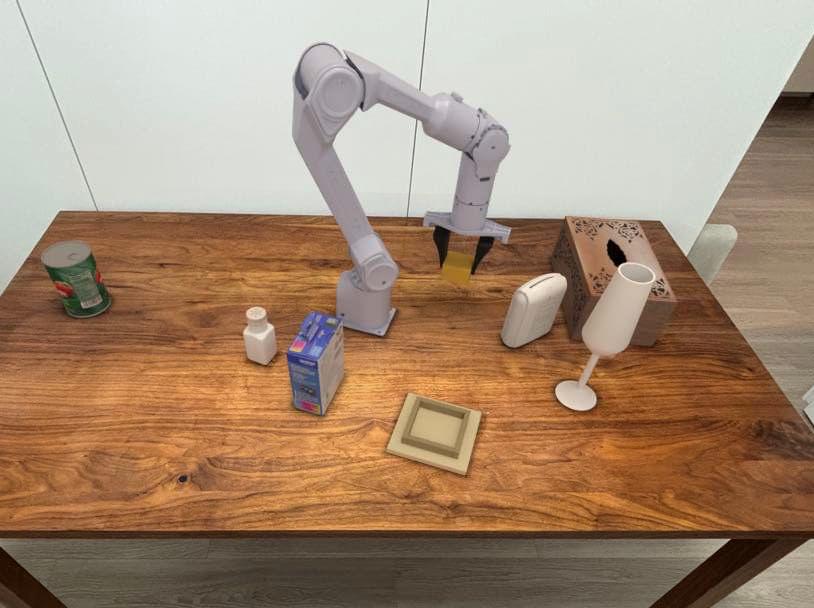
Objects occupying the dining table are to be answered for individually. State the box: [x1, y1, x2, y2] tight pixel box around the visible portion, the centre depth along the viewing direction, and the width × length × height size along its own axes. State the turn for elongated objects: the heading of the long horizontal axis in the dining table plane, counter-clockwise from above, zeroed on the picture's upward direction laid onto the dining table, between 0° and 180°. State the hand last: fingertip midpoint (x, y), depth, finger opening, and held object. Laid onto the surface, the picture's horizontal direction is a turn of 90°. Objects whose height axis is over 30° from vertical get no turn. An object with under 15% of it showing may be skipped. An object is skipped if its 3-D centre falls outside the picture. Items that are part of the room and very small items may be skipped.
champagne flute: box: [554, 263, 655, 412], centre depth 79 cm, size 7×7×24 cm
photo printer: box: [500, 272, 567, 349], centre depth 93 cm, size 10×4×12 cm, turn 123°
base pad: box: [385, 391, 483, 476], centre depth 81 cm, size 12×12×2 cm
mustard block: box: [439, 250, 475, 286], centre depth 96 cm, size 5×5×3 cm
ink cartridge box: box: [285, 311, 345, 417], centre depth 82 cm, size 10×6×14 cm, turn 161°
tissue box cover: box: [550, 215, 679, 347], centre depth 102 cm, size 26×14×10 cm, turn 175°
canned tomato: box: [40, 240, 112, 319], centre depth 95 cm, size 8×8×11 cm
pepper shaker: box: [242, 306, 278, 366], centre depth 88 cm, size 4×4×10 cm
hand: (458, 268), depth 96 cm, fingers closed on mustard block, 5 cm apart
